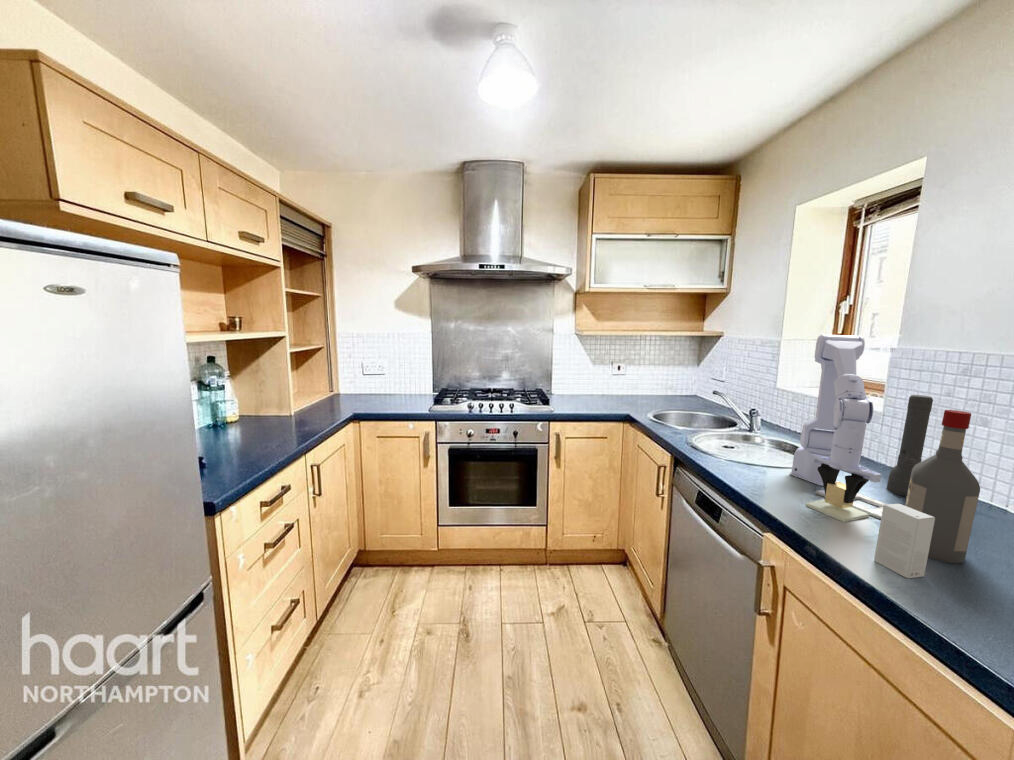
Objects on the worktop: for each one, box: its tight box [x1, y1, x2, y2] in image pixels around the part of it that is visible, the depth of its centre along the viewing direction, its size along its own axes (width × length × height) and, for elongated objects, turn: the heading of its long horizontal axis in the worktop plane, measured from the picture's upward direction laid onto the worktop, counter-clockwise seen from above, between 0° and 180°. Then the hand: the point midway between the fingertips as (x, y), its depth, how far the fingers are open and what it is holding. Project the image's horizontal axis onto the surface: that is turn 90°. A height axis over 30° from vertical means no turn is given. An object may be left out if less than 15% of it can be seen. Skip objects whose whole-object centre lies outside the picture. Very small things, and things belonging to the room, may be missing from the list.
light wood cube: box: [824, 481, 855, 509], centre depth 101 cm, size 4×4×5 cm
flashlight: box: [886, 394, 934, 497], centre depth 113 cm, size 7×28×7 cm
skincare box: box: [873, 503, 935, 579], centre depth 77 cm, size 6×4×12 cm
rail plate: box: [815, 489, 888, 520], centre depth 106 cm, size 18×10×1 cm, turn 20°
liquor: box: [904, 409, 981, 564], centre depth 83 cm, size 9×9×30 cm
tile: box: [805, 498, 870, 523], centre depth 102 cm, size 9×9×1 cm
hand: (838, 498), depth 101 cm, fingers closed on light wood cube, 4 cm apart
